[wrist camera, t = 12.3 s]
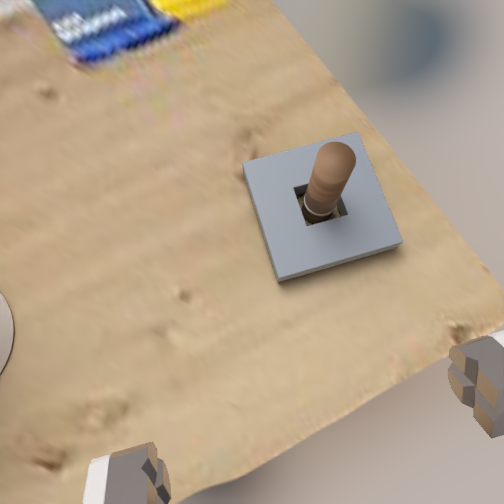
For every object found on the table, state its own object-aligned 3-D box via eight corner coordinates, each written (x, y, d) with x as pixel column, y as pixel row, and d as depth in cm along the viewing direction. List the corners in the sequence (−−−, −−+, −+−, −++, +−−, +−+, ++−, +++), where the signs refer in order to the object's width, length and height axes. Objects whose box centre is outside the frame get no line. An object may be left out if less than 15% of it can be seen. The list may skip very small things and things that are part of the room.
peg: (307, 227, 47) (323, 182, 35) (297, 200, 48) (310, 147, 36) (336, 219, 47) (362, 171, 36) (326, 192, 48) (348, 136, 36)
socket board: (277, 282, 45) (279, 277, 43) (242, 172, 49) (242, 162, 46) (395, 248, 46) (403, 241, 44) (352, 142, 50) (357, 131, 47)
